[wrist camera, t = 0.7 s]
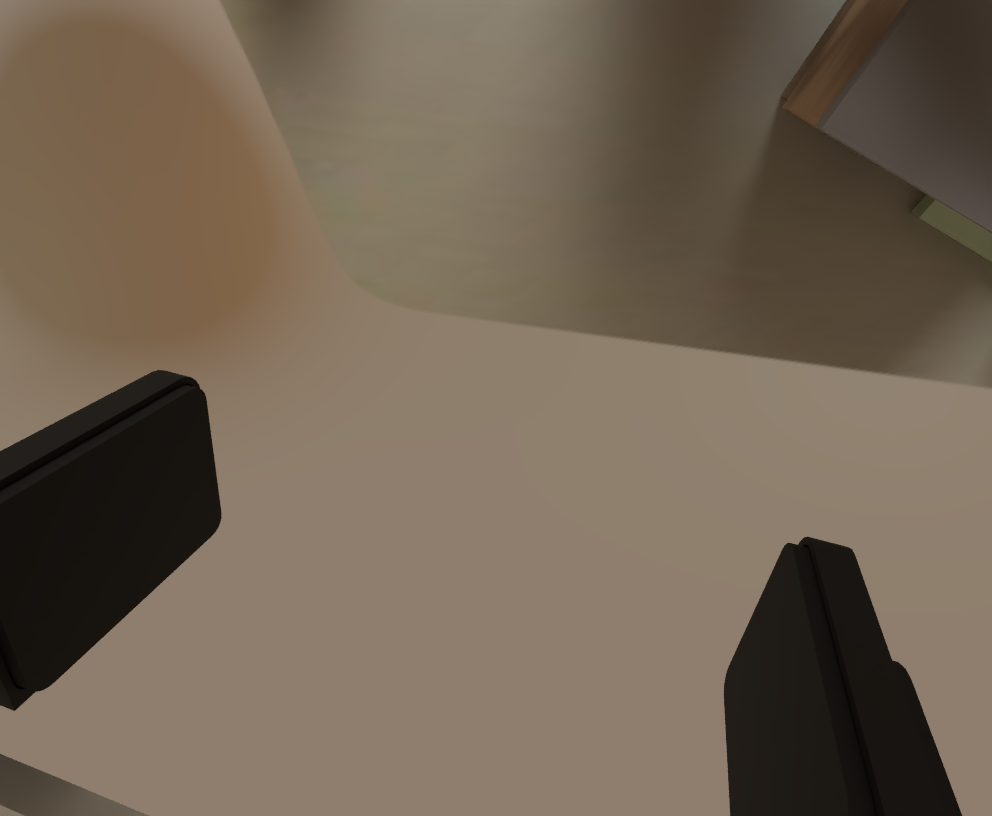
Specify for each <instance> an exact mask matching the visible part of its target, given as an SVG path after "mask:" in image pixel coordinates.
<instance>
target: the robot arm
mask: <svg viewBox="0 0 992 816" xmlns="http://www.w3.org/2000/svg"><path fill="white" fill-rule="evenodd" d="M220 521H221V507H220V499H219V492H218V484H217V477H216V469H215V461H214V453H213V446H212V439H211V431H210V423H209V416H208V408H207V401H206V396H205V393H204V392H203V391H202V390H201V389H200V387H199V384H198V383H197V382H196V380H194V379H193V378H191V377H187V376H183V375H179V374H176V373H172V372H168V371H164V370H157V371H154V372H151V373H149V374H148V375H146V376H144V377H142V378H140V379H138V380H136V381H134V382H132V383H130V384H128V385H126V386H124V387H123V388H121V389H119V390H117V391H115V392H113V393H111V394H109V395H107V396H105V397H104V398H101V399H100V400H98V401H96V402H94V403H92V404H90V405H88V406H86V407H84V408H82V409H80V410H78V411H77V412H75V413H73V414H71V415H69V416H67V417H65V418H63V419H61V420H59V421H57V422H55V423H54V424H52V425H50V426H48V427H46V428H44V429H42V430H40V431H38V432H36V433H34V434H33V435H31V436H29V437H27V438H25V439H23V440H21V441H19V442H17V443H15V444H13V445H11V446H10V447H8V448H6V449H4V450H2V451H0V705H1V706H4V707H6V708H9V709H11V710H14V711H15V710H16V709H17V708H18V707H19V706H20V705H21V704H23V703H24V702H25V701H26V700H27V699H28V698H29V697H30V696H31V695H32V694H33V693H35V692H36V691H41V690H44V689H46V688H48V687H49V686H50V685H52V684H53V683H54V682H55V681H56V680H57V679H58V678H59V677H61V676H62V675H63V674H64V673H65V672H66V671H67V670H68V669H69V668H70V667H71V666H72V665H73V664H75V663H76V662H77V661H78V660H79V659H80V658H81V657H82V656H83V655H84V654H85V653H86V652H87V651H88V650H90V648H92V647H93V646H94V645H95V644H96V643H97V642H98V641H99V640H100V639H101V638H103V637H104V636H105V635H106V634H107V633H108V632H109V631H110V630H111V629H112V628H113V627H114V626H115V625H116V624H118V623H119V622H120V621H121V620H122V619H123V618H124V617H125V616H126V615H127V614H128V613H129V612H131V611H132V610H133V609H134V608H135V607H136V606H137V605H138V604H139V603H140V602H141V601H142V600H143V599H144V598H146V597H147V596H148V595H149V594H150V593H151V592H152V591H153V590H154V589H155V588H156V587H157V586H158V585H160V584H161V583H162V582H163V581H164V580H165V579H166V578H167V577H168V576H169V575H170V574H171V573H173V572H174V571H175V570H176V569H177V568H178V567H179V566H180V565H181V564H182V563H183V562H184V561H185V560H186V559H188V558H189V557H190V556H191V555H192V554H193V553H194V552H195V551H196V550H197V549H198V548H199V547H200V546H201V545H203V544H204V543H205V542H206V541H207V540H208V539H209V538H210V537H211V536H212V535H213V534H214V533H215V532H216V530H217V528H218V527H219V524H220ZM724 706H725V725H726V743H727V762H728V780H729V799H730V816H962V814H961V811H960V809H959V806H958V803H957V801H956V798H955V795H954V793H953V790H952V788H951V785H950V782H949V779H948V777H947V774H946V771H945V768H944V766H943V763H942V761H941V758H940V756H939V753H938V750H937V747H936V744H935V742H934V739H933V736H932V734H931V731H930V728H929V726H928V723H927V720H926V718H925V715H924V712H923V710H922V707H921V704H920V702H919V699H918V696H917V694H916V691H915V688H914V686H913V683H912V680H911V678H910V676H909V674H908V673H907V671H906V669H905V668H904V667H903V666H902V665H901V664H900V663H898V662H896V661H892V659H891V656H890V653H889V651H888V647H887V645H886V642H885V639H884V636H883V633H882V630H881V628H880V625H879V622H878V619H877V616H876V613H875V611H874V608H873V605H872V602H871V599H870V596H869V594H868V591H867V588H866V585H865V582H864V580H863V576H862V574H861V571H860V568H859V565H858V562H857V559H856V557H855V554H854V552H853V550H852V549H850V548H849V547H845V546H841V545H838V544H834V543H830V542H826V541H822V540H818V539H814V538H810V537H805V538H803V539H802V540H801V541H800V543H799V544H798V545H796V544H792V543H787V544H786V545H785V546H784V548H783V549H782V551H781V554H780V556H779V558H778V560H777V562H776V565H775V567H774V569H773V571H772V573H771V575H770V578H769V580H768V582H767V584H766V587H765V589H764V591H763V593H762V595H761V597H760V599H759V602H758V604H757V606H756V608H755V610H754V613H753V615H752V617H751V619H750V621H749V624H748V626H747V628H746V630H745V632H744V634H743V637H742V639H741V641H740V643H739V645H738V648H737V650H736V652H735V654H734V656H733V658H732V661H731V663H730V665H729V668H728V670H727V673H726V678H725V683H724ZM0 816H148V815H146V814H144V813H141V812H139V811H136V810H134V809H131V808H129V807H127V806H124V805H122V804H120V803H117V802H115V801H112V800H110V799H108V798H105V797H102V796H100V795H98V794H96V793H93V792H91V791H88V790H86V789H84V788H81V787H79V786H76V785H74V784H71V783H69V782H67V781H65V780H62V779H60V778H57V777H55V776H52V775H50V774H48V773H45V772H43V771H40V770H38V769H35V768H33V767H31V766H28V765H26V764H23V763H21V762H18V761H16V760H14V759H11V758H9V757H6V756H4V755H1V754H0Z"/></svg>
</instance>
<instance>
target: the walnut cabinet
mask: <svg viewBox="0 0 992 816" xmlns="http://www.w3.org/2000/svg"><path fill="white" fill-rule="evenodd" d="M781 96H782V97H783V98H785V99H787V101H786V102H785V104H784V105H783V107H782V108H784V109H785V110H787V111H788V112H790V113H792V114H793V115H795V116H797V117H798V118H800V119H802V120H803V121H805V122H807V123H808V124H810V125H812V126H813V127H815V128H817V129H818V130H820V131H822V132H823V133H825V134H827V135H828V136H830V137H832V138H833V139H835V140H837V141H838V142H840V143H842V144H843V145H845V146H847V147H848V148H850V149H852V150H853V151H855V152H857V153H858V154H860V155H862V156H863V157H865V158H867V159H868V160H870V161H872V162H873V163H875V164H877V165H878V166H880V167H882V168H883V169H885V170H887V171H888V172H890V173H892V174H893V175H895V176H897V177H898V178H900V179H902V180H903V181H905V182H907V183H908V184H910V185H912V186H913V187H915V188H917V189H918V190H920V191H922V192H923V193H925V194H927V195H928V196H930V197H932V198H933V199H935V200H937V201H938V202H940V203H942V204H944V205H945V206H947V207H949V208H950V209H952V210H954V211H955V212H957V213H959V214H960V215H962V216H964V217H965V218H967V219H969V220H970V221H972V222H974V223H975V224H977V225H979V226H980V227H982V228H984V229H985V230H987V231H989V232H990V233H992V0H846V2H845V3H844V5H843V6H842V8H841V9H840V11H839V12H838V13H837V15H836V16H835V18H834V19H833V21H832V22H831V24H830V25H829V27H828V28H827V30H826V31H825V32H824V34H823V35H822V37H821V38H820V40H819V41H818V43H817V44H816V46H815V47H814V48H813V50H812V51H811V53H810V54H809V56H808V57H807V59H806V60H805V62H804V63H803V65H802V66H801V67H800V69H799V70H798V72H797V73H796V75H795V76H794V78H793V79H792V81H791V82H790V84H789V85H788V86H787V88H786V89H785V91H784V92H783V94H782V95H781Z"/></svg>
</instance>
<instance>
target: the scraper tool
mask: <svg viewBox="0 0 992 816" xmlns="http://www.w3.org/2000/svg"><path fill="white" fill-rule="evenodd" d="M910 213H911V214H913V215H915V216H916V217H918V218H920V219H921V220H923V221H925V222H926V223H928V224H929V225H931V226H933V227H934V228H936V229H938V230H939V231H941V232H943V233H944V234H946V235H948V236H949V237H951V238H953V239H954V240H956V241H958V242H959V243H961V244H963V245H964V246H966V247H968V248H969V249H971V250H973V251H974V252H976V253H978V254H979V255H981V256H982V257H984V258H986V259H987V260H989V261H991V262H992V233H990V232H989V231H987V230H985V229H984V228H982V227H980V226H979V225H977V224H975V223H974V222H972V221H970V220H969V219H967V218H965V217H964V216H962V215H960V214H959V213H957V212H955V211H954V210H952V209H950V208H949V207H947V206H945V205H944V204H942V203H940V202H938V201H937V200H935V199H933V198H932V197H930V196H928V195H927V194H926V195H925V196H924V198H923V199H922V200H921V201H920V202H919V203H918V204H917V205H916V207H915V208H914V209H913V210H912V211H911V212H910Z"/></svg>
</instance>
